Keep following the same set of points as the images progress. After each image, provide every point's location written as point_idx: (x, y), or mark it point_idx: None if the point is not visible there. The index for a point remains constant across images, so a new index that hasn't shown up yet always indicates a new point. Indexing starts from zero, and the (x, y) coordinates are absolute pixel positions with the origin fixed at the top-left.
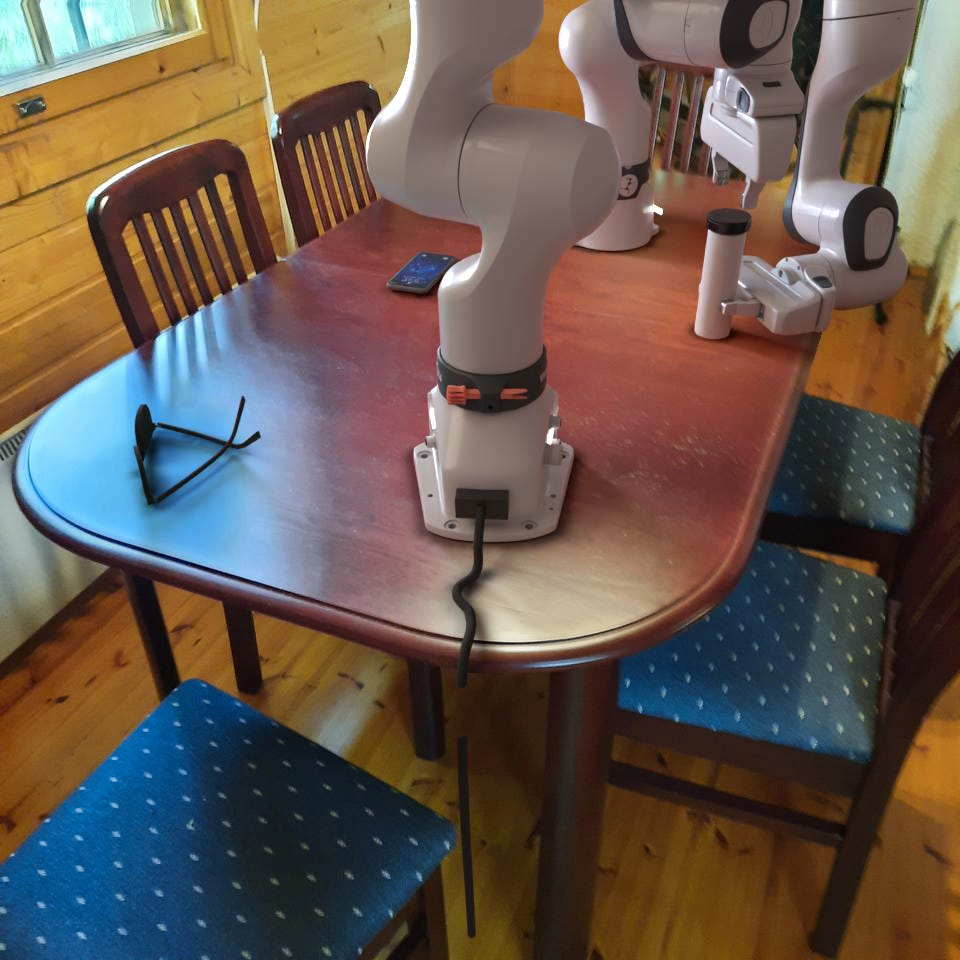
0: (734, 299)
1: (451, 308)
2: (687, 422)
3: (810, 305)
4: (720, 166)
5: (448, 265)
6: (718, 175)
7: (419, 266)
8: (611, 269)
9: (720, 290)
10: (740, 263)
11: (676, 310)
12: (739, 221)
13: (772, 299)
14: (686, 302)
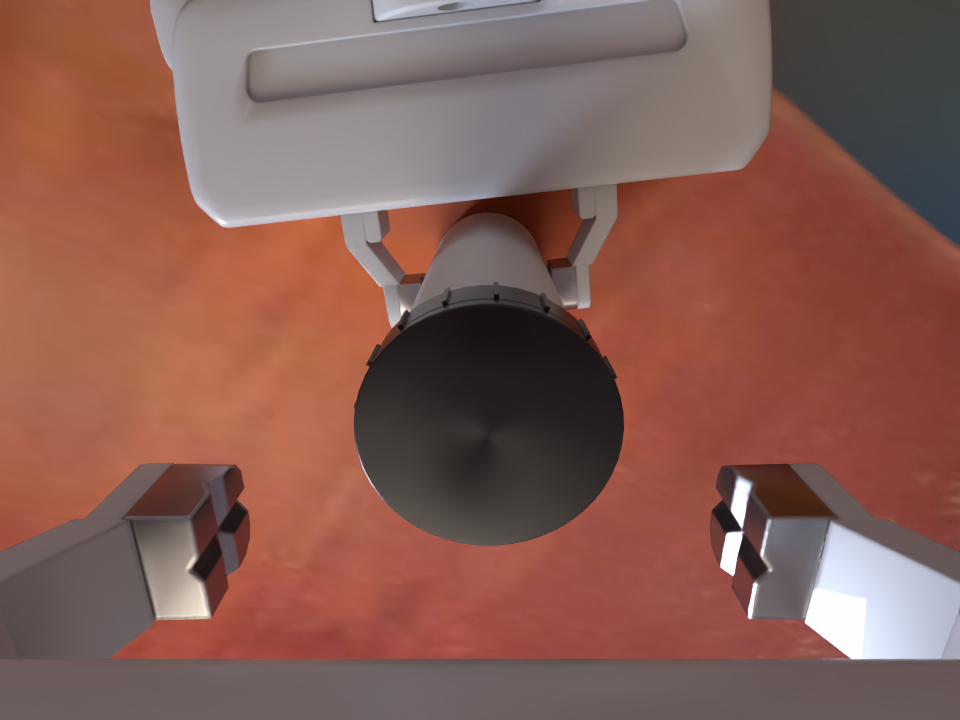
0: (533, 248)
1: None
2: (901, 482)
3: (768, 11)
4: (106, 605)
5: None
6: (217, 595)
7: None
8: (15, 414)
9: None
10: (546, 281)
11: (329, 318)
12: (604, 418)
13: (651, 145)
14: (275, 268)
